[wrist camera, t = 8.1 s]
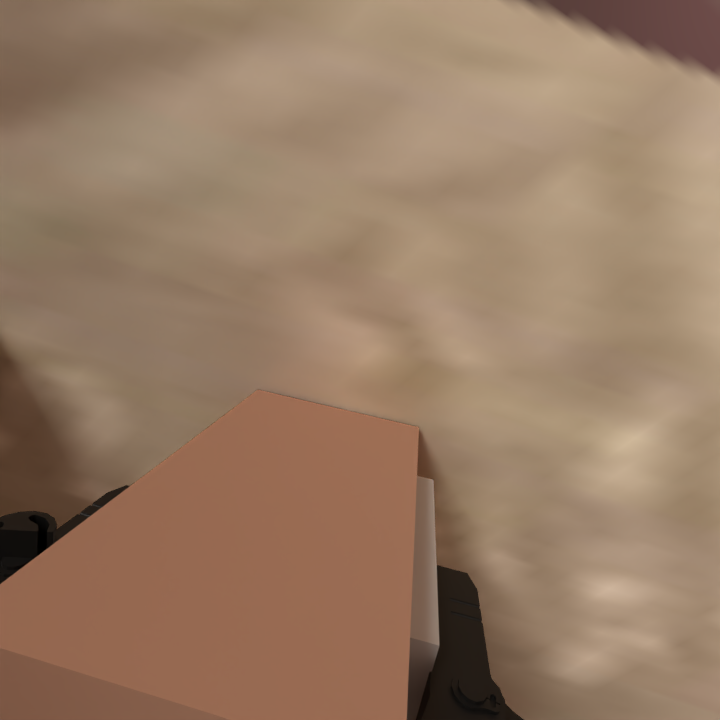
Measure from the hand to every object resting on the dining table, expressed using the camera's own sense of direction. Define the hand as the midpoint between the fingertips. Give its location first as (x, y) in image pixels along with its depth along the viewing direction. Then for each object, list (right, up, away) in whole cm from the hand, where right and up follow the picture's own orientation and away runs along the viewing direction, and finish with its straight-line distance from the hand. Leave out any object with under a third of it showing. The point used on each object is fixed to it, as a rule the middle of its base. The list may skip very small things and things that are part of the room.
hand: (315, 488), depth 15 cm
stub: (0, 0, +1) cm, 2 cm away
